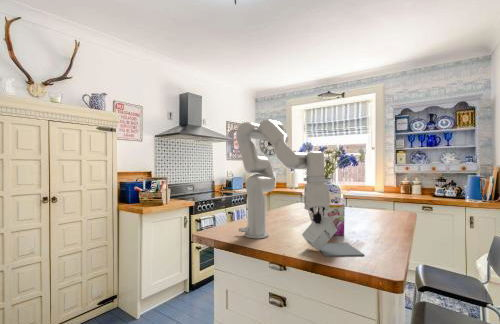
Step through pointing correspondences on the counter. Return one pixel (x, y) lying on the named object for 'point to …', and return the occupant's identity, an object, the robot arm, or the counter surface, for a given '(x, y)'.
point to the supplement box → (319, 233)
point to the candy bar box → (336, 217)
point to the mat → (340, 250)
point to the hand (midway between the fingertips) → (317, 222)
